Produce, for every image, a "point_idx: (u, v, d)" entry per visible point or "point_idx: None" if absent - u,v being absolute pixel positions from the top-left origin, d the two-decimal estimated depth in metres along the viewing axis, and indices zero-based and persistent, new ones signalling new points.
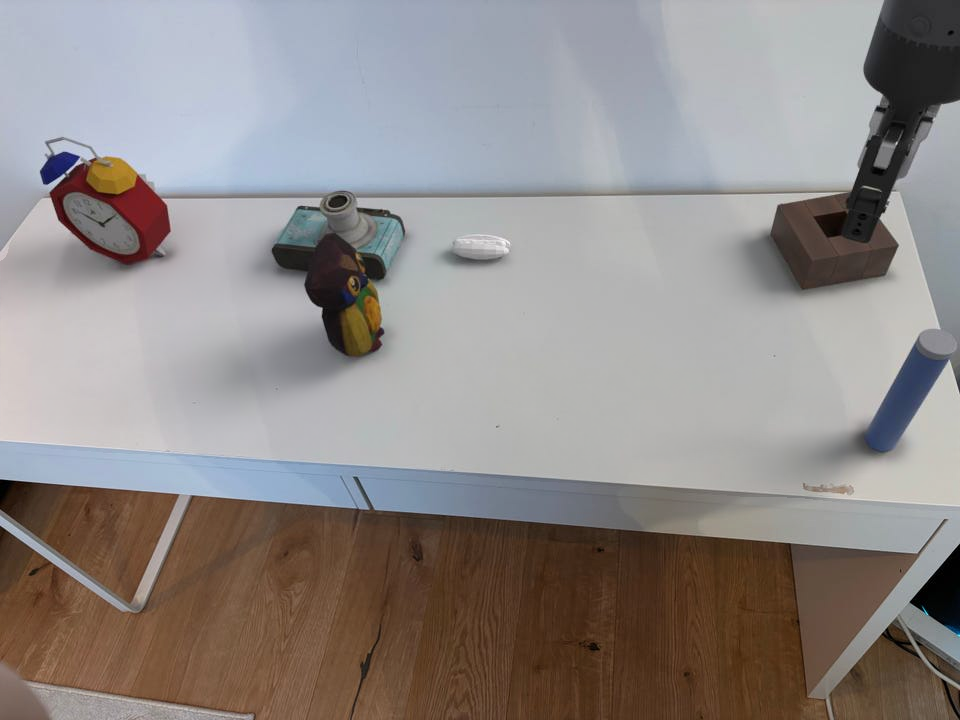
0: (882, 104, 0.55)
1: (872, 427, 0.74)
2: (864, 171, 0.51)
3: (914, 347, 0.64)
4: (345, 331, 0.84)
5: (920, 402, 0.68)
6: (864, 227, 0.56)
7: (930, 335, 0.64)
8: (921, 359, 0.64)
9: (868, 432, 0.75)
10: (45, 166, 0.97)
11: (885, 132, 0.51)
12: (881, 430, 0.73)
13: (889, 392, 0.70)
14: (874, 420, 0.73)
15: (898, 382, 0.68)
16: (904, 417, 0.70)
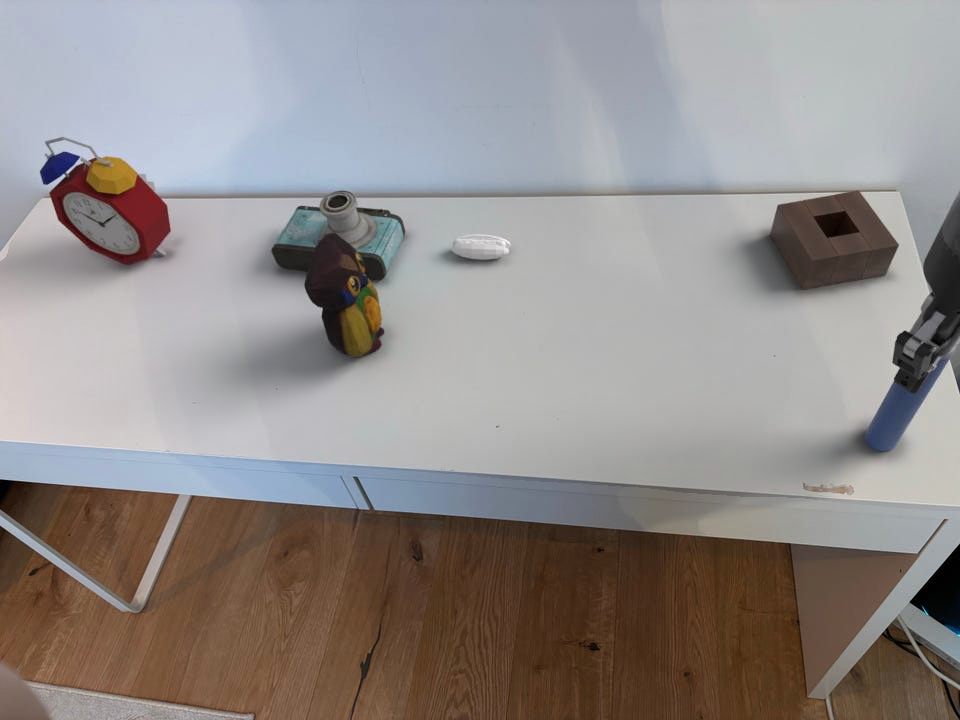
0: None
1: (872, 427, 0.74)
2: (898, 352, 0.60)
3: None
4: (345, 331, 0.84)
5: (920, 402, 0.68)
6: (910, 381, 0.64)
7: None
8: None
9: (868, 432, 0.75)
10: (45, 166, 0.97)
11: (924, 322, 0.58)
12: (881, 430, 0.73)
13: (889, 392, 0.70)
14: (874, 420, 0.73)
15: None
16: (904, 417, 0.70)
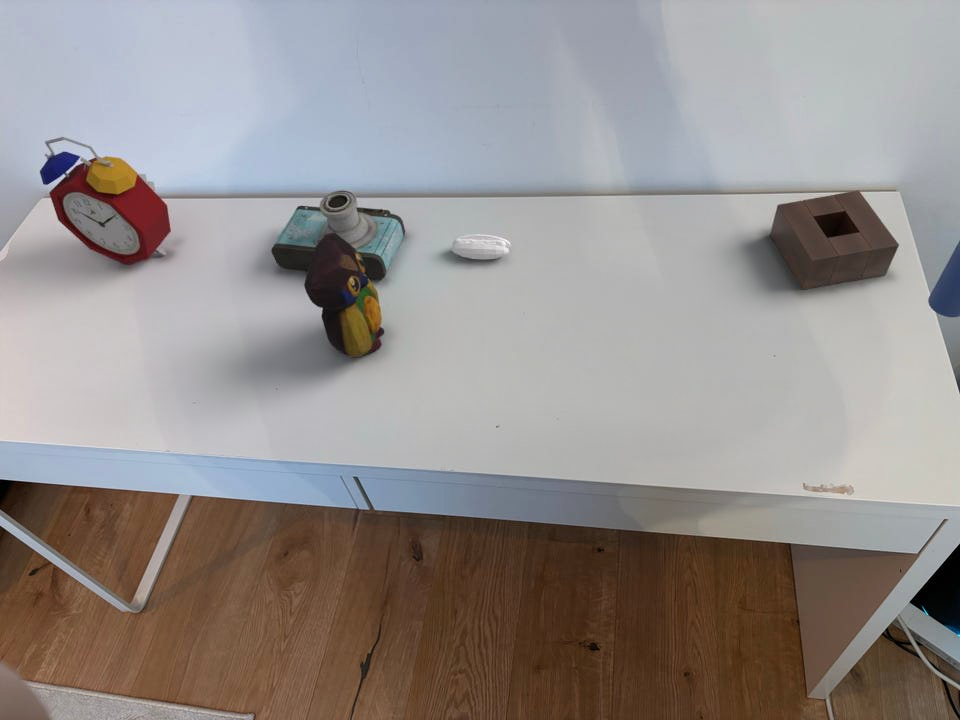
0: None
1: (940, 285, 0.59)
2: None
3: None
4: (345, 331, 0.84)
5: None
6: None
7: None
8: None
9: (933, 294, 0.60)
10: (45, 166, 0.97)
11: None
12: (952, 286, 0.58)
13: None
14: (943, 275, 0.59)
15: None
16: None
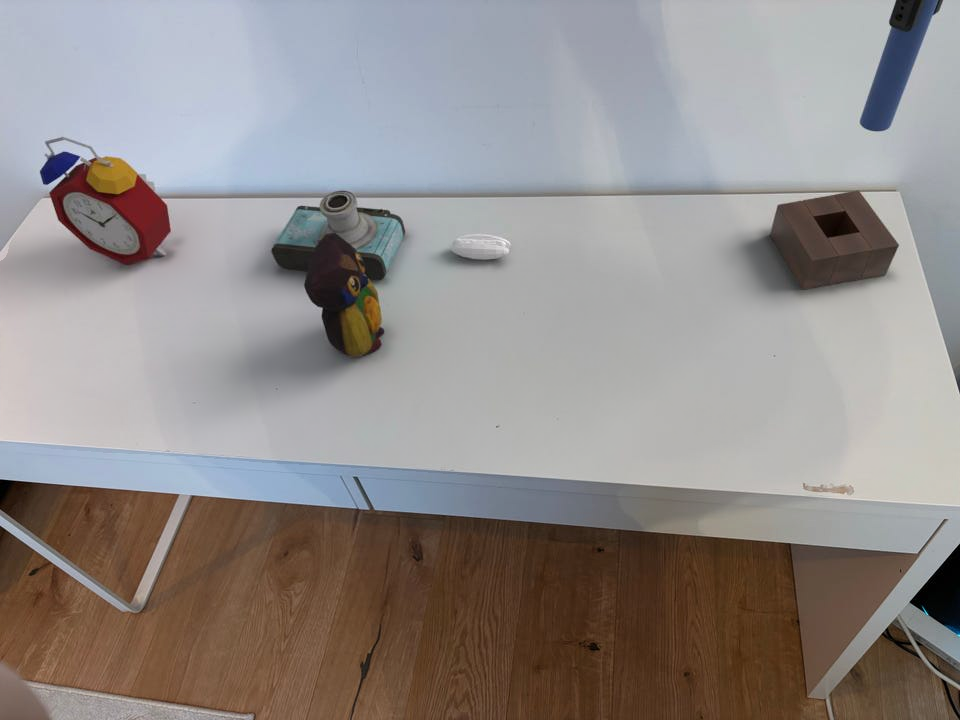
0: None
1: (867, 103, 0.74)
2: None
3: None
4: (345, 331, 0.84)
5: (914, 51, 0.68)
6: (905, 11, 0.65)
7: None
8: None
9: (863, 113, 0.75)
10: (45, 166, 0.97)
11: None
12: (875, 101, 0.73)
13: (884, 50, 0.70)
14: (869, 94, 0.74)
15: (893, 29, 0.68)
16: (898, 75, 0.70)
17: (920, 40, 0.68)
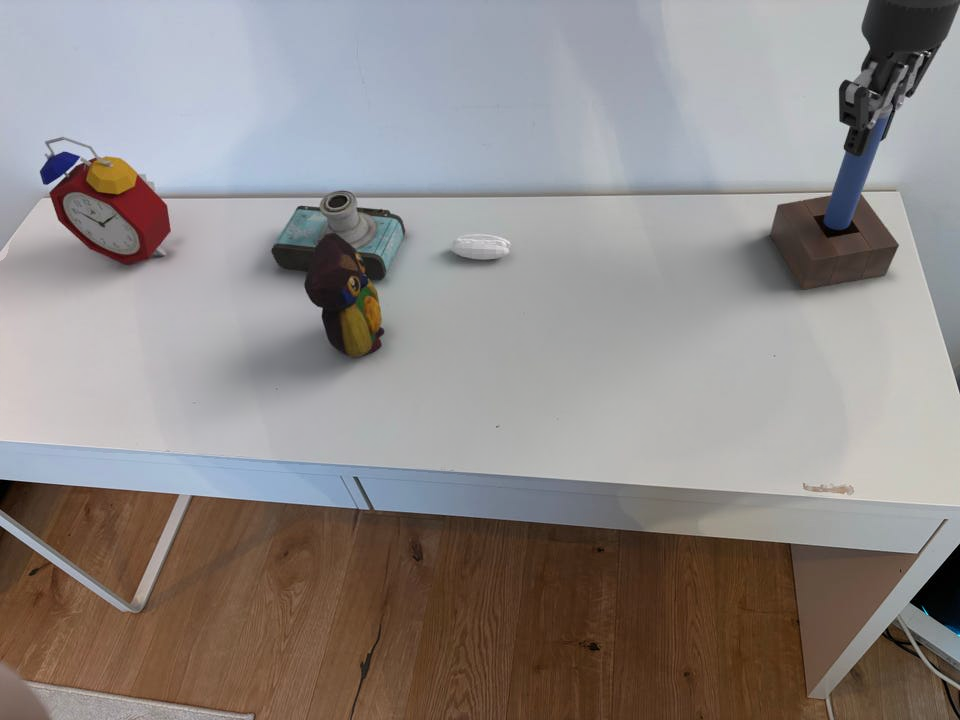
0: None
1: (828, 207, 0.86)
2: (842, 103, 0.72)
3: None
4: (345, 331, 0.84)
5: (866, 170, 0.81)
6: (856, 141, 0.77)
7: None
8: None
9: (825, 214, 0.88)
10: (45, 166, 0.97)
11: None
12: (835, 206, 0.85)
13: (841, 166, 0.82)
14: (830, 199, 0.86)
15: None
16: (853, 187, 0.82)
17: (870, 161, 0.80)
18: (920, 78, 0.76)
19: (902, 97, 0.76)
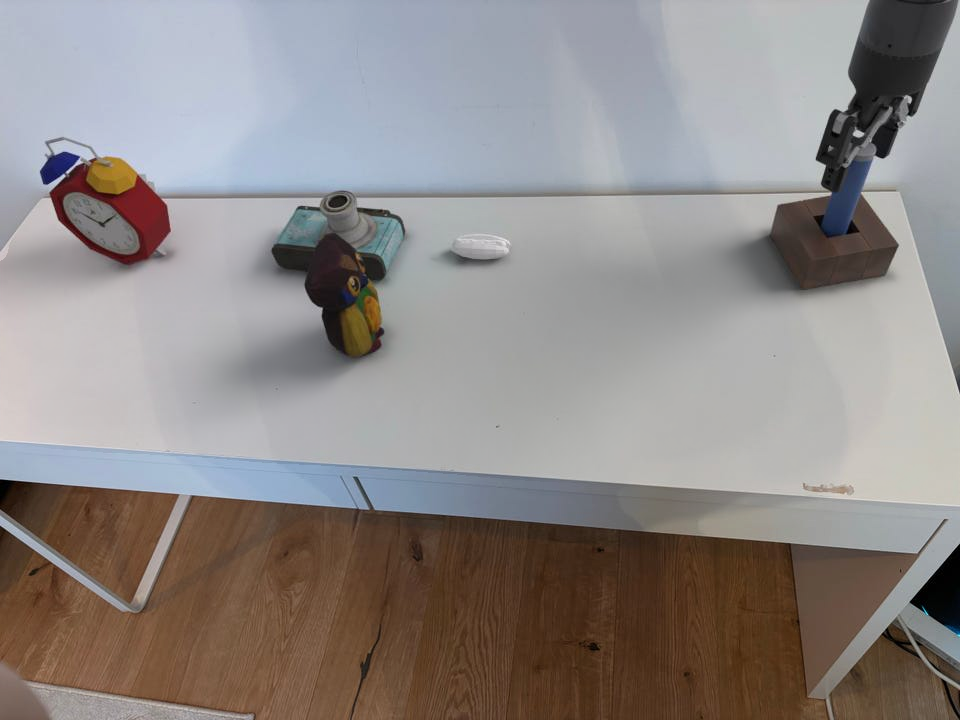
0: None
1: None
2: (827, 133, 0.75)
3: None
4: (345, 331, 0.84)
5: (852, 207, 0.85)
6: (832, 179, 0.79)
7: None
8: None
9: None
10: (45, 166, 0.97)
11: None
12: None
13: (828, 203, 0.87)
14: None
15: None
16: (840, 223, 0.87)
17: (856, 200, 0.84)
18: (919, 99, 0.79)
19: (905, 117, 0.79)
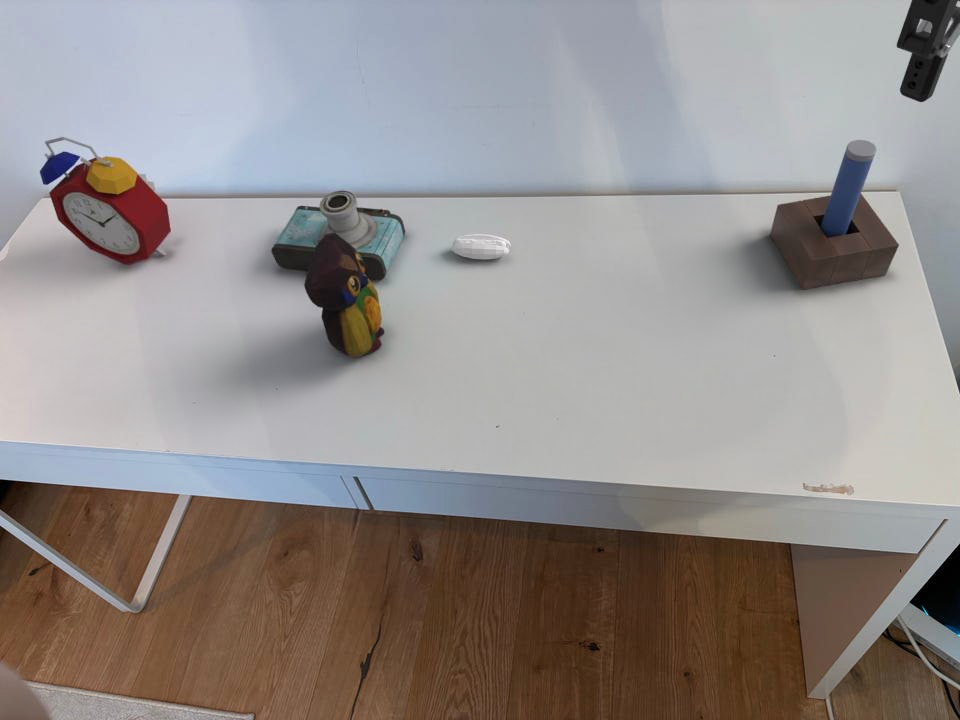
0: None
1: None
2: None
3: (844, 155, 0.81)
4: (345, 331, 0.84)
5: (852, 207, 0.85)
6: (919, 78, 0.53)
7: (856, 144, 0.80)
8: (849, 163, 0.81)
9: None
10: (45, 166, 0.97)
11: None
12: None
13: (828, 203, 0.87)
14: None
15: (834, 190, 0.84)
16: (840, 223, 0.87)
17: (856, 200, 0.84)
18: None
19: None
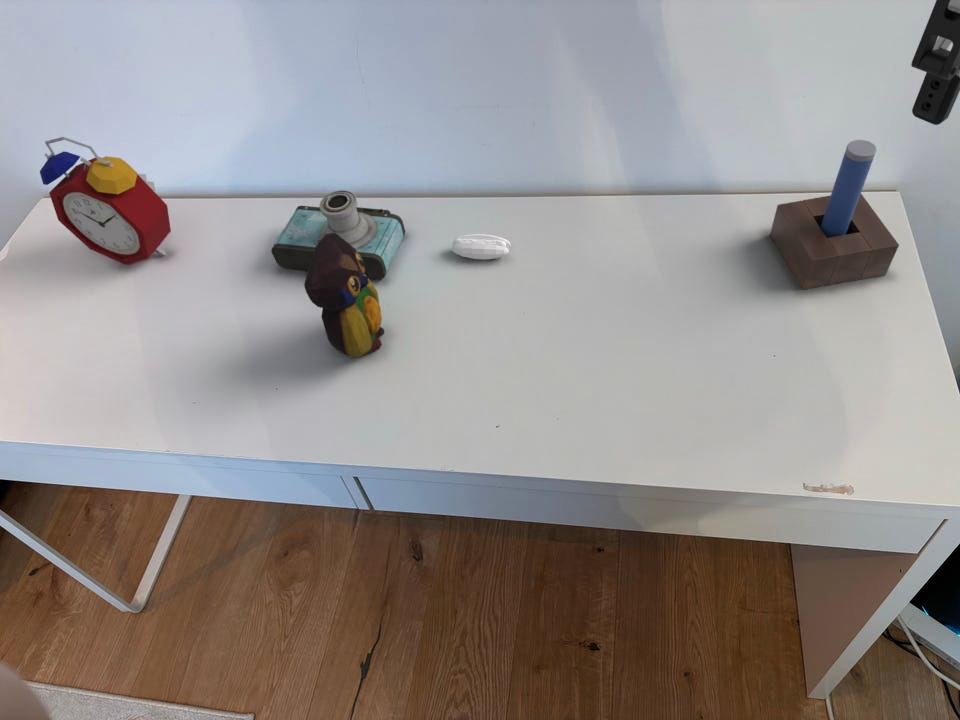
0: None
1: None
2: (937, 15, 0.44)
3: (844, 155, 0.81)
4: (345, 331, 0.84)
5: (852, 207, 0.85)
6: (935, 100, 0.48)
7: (856, 144, 0.80)
8: (849, 163, 0.81)
9: None
10: (45, 166, 0.97)
11: None
12: None
13: (828, 203, 0.87)
14: None
15: (834, 190, 0.84)
16: (840, 223, 0.87)
17: (856, 200, 0.84)
18: None
19: None
